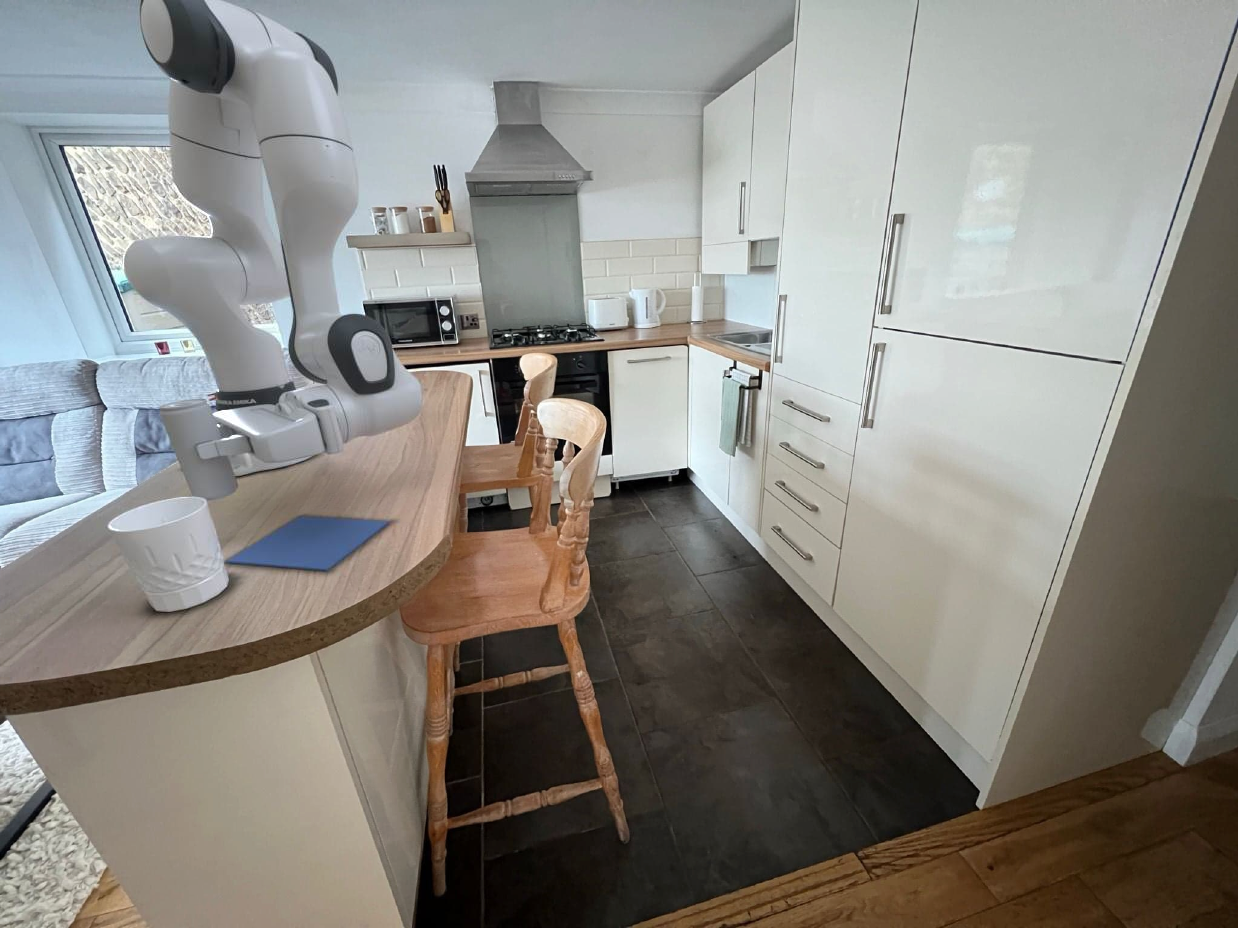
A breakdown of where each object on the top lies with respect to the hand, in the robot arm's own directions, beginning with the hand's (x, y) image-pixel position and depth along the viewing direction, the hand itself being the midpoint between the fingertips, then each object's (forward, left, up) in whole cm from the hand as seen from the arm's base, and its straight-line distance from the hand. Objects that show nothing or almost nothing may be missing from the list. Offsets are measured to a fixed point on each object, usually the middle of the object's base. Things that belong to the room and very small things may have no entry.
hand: (190, 447), depth 62 cm
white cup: (+7, -10, -13) cm, 18 cm away
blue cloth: (+12, +2, -13) cm, 18 cm away
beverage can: (+1, +1, -7) cm, 7 cm away
